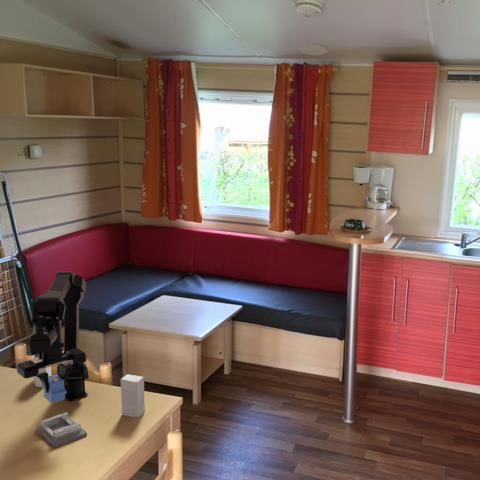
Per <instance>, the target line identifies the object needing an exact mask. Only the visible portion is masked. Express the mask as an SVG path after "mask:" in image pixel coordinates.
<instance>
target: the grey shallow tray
mask: <svg viewBox="0 0 480 480" xmlns="http://www.w3.org/2000/svg"><path fill="white" fill-rule="evenodd" d="M40 423H41V424H40V426H37V427H35V432H36V433H37V434H38V435H40V436H41V437H42V438H43V439H44V440H45V441H46V442H47V443H48V444H49V445H50V446H52V448H53V449H57V448H58V447H61V446H63V445H66V444H68V443H71V442H74V441H76V440H79V439H82V438H84V437H86V436H87V437H88V433H87V431H86V430H85V429H83V428H82V423H80V421H79V422H78V421H77V422H75V421H74V420H72V419H71V418H70V417H69V413H68V412H63V413H59V414H57V415H54V416H51V417H49V418H46V419H43V420H40Z"/></svg>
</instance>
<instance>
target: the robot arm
mask: <svg viewBox="0 0 480 480" xmlns="http://www.w3.org/2000/svg"><path fill="white" fill-rule="evenodd" d="M86 283H87V282H86V280H85V279H84V277H82V276H79V275H77V274H76V273H75V272H73V271H58V272H56V276H55V279H54V281H53V282H52V284H51V286H50V288H49V289H48V291H47V292H44V293H42V294H39V296H38V297H37V299H36V300H35V301H34V303H33V304H34V305H33V309H32V310H33V311H32V318H31V325H32V326H36V329H35V332H34V333H33V334H32V335H31V337H30V339H29V340H28V342H29V344H27V347H26V351H27V356H29V357H33V356H34V355H35V358H36V357H38V359H39V360H41V359H42V362H38V363H34V362H33V360H31V359H30V360H27V361H23V362H19V363H18V364H17V366H16V371H17V372H16V373H17V374H18V375H19V376H21V377H22V378H23V379H29V378H30V379H31V378H34V376H36V377H38V378H39V379H40V381H41V383H42V385H43V387H44V389H45V391H46V393H48V391H49V379H48V373H47V372H45V368H46V367H50V366H51V367H54V366H56V372H57V375H58V376H59V377H61V378H62V379H63V380H64V389H65V390H66V391H67V393H65V400H67V401H69V402H72V401H75V400H78V399H82V398H84V397H87V396H88V395H89V394H88V393H87V392H86V385H85V384H86V380H88V379H90V377H89V368H88V366H87V364H86V363H87V360H88V358H87V354H86V352H85V351H83V350H81V349H80V348H79V347H80V304H81V302H82V301H83V299H84V297H85V292H86V289H87V284H86ZM62 322H64V323H63V324H64V325H63V326H64V327H63V329H64V331H63V332H64V338H63V336H62V335H63V333H62ZM62 338H63V339H64V341H63V339H62ZM44 389H43V390H44Z"/></svg>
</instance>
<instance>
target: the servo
mask: <svg viewBox="0 0 480 480" xmlns="http://www.w3.org/2000/svg"><path fill="white" fill-rule="evenodd" d="M48 379H49V391H48V393H46V391H45V389H44V387H43V385H42V387H41V388H42V389H43V397H44V399H46V400H47V401H48V402H49V403H51V404H54V403H58V402H61V401H64V400H66V398H65V393H67V391H66V390H65V389H64V380H63V379H62V378H61V377H59V376H58V374H53V375H52V374H51V376H49V377H48Z"/></svg>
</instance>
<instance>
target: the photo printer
mask: <svg viewBox="0 0 480 480" xmlns="http://www.w3.org/2000/svg"><path fill="white" fill-rule="evenodd" d="M32 361H33V362H34V363H38V362H42V359H41V360H39V359H38V357H36V358H35V355H32ZM45 372H47V373H48V377H49V376H52V366H50V367H46V368H45ZM33 378H34V379H33V380H34V387H36V388H42V383H41V381H40V379H39V378H38V377H36V376H34V377H33Z"/></svg>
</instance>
